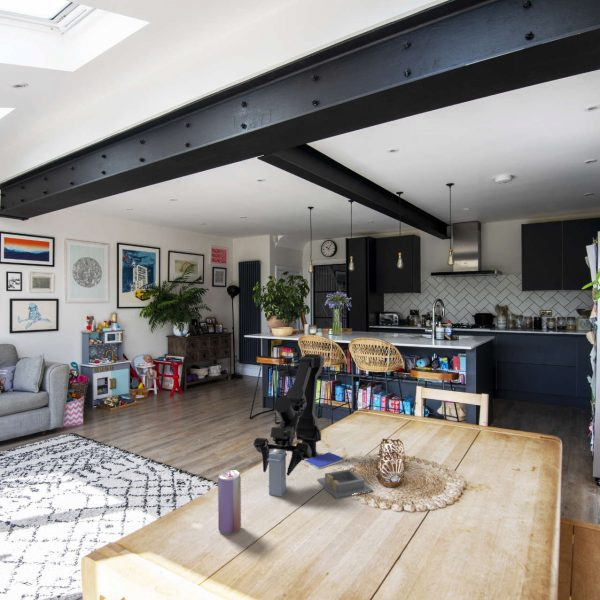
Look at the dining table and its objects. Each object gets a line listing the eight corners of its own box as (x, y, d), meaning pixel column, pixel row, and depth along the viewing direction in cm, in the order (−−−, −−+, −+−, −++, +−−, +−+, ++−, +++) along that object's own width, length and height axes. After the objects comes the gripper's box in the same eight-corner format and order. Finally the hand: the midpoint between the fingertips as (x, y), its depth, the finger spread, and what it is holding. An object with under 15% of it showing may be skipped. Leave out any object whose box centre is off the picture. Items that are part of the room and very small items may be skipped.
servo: (275, 487, 142) (275, 445, 141) (287, 488, 140) (286, 446, 140) (267, 496, 135) (267, 452, 135) (279, 498, 134) (279, 453, 134)
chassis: (317, 480, 146) (317, 471, 146) (351, 474, 151) (351, 465, 151) (336, 499, 133) (336, 489, 133) (372, 491, 138) (372, 482, 138)
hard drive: (328, 451, 170) (304, 459, 162) (343, 457, 164) (318, 466, 156) (328, 455, 170) (304, 463, 162) (343, 462, 164) (318, 470, 156)
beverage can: (222, 538, 112) (221, 481, 112) (215, 527, 118) (215, 472, 117) (244, 532, 115) (243, 476, 115) (236, 521, 121) (236, 468, 120)
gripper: (255, 413, 144) (240, 458, 134) (309, 418, 138) (297, 466, 128) (264, 429, 152) (251, 473, 142) (316, 435, 146) (306, 481, 136)
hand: (275, 473), depth 136 cm, fingers open, 8 cm apart
